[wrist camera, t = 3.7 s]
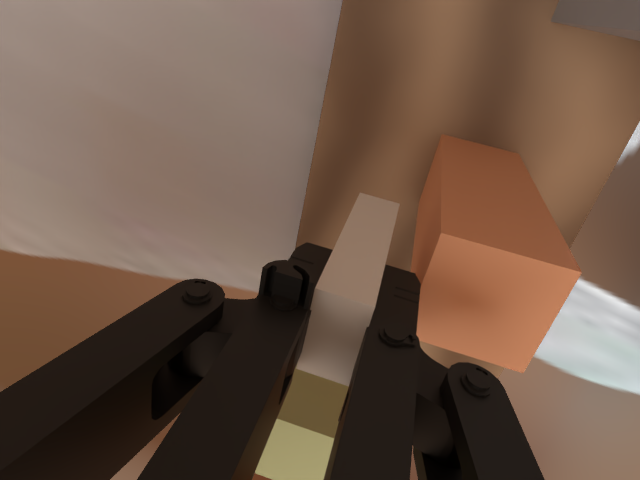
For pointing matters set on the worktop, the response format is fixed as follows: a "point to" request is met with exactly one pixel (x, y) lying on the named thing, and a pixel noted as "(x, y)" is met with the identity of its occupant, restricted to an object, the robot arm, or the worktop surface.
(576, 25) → the slate pillar
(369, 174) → the walnut board
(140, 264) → the worktop surface
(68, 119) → the worktop surface
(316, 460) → the olive pillar
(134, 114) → the worktop surface
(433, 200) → the terracotta pillar
